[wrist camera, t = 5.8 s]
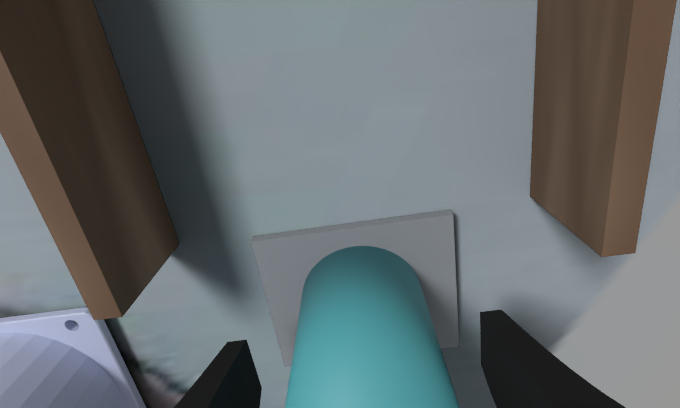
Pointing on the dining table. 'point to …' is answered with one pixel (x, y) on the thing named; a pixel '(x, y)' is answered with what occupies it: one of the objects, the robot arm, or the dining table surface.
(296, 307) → the mat
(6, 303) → the dining table surface
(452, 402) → the capsule
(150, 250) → the open u-shaped frame
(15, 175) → the dining table surface
